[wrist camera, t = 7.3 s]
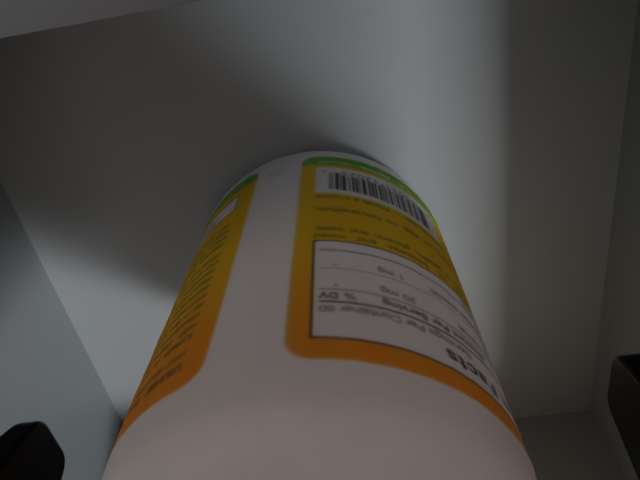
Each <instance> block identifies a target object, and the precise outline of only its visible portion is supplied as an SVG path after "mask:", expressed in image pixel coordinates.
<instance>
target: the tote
mask: <svg viewBox="0 0 640 480" xmlns="http://www.w3.org/2000/svg"><path fill="white" fill-rule="evenodd" d="M309 151H335V152H344V153H349V154H353V155H357V156H360V157H364V158H367V159H369V160H372V161H374V162H377V163H379V164H381V165H383V166H385V167H387V168H388V169H390V170H391V171H393V172H395V173H396V174H397V175H399V176H400V177H401V178H403V179H404V180H405V181H406V182H407V183H409V184H410V185H411V186H412V187H413V188H414V189H415V191H416V192H417V193H418V194H419V195H420V196H421V198H422V199H423V200H424V202H425V203H426V204H427V206H428V207H429V209H430V211H431V213H432V214H433V216H434V218H435V220H436V222H437V224H438V227H439V229H440V232H441V234H442V237H443V239H444V242H445V244H446V247H447V249H448V252H449V254H450V257H451V259H452V262H453V264H454V267H455V270H456V272H457V275H458V277H459V280H460V282H461V285H462V287H463V290H464V292H465V295H466V297H467V300H468V303H469V306H470V308H471V311H472V314H473V316H474V319H475V321H476V323H477V326H478V328H479V331H480V333H481V335H482V339H483V341H484V344H485V346H486V349H487V351H488V354H489V356H490V359H491V361H492V364H493V367H494V369H495V372H496V375H497V377H498V379H499V382H500V385H501V387H502V390H503V392H504V395H505V398H506V400H507V403H508V405H509V408H510V410H511V413H512V415H513V418H514V420H515V423H516V425H517V427H518V430H519V432H520V435H521V437H522V440H523V443H524V446H525V448H526V451H527V453H528V456H529V458H530V460H531V462H532V464H533V467H534V471H535V475H536V478H537V480H638V478H637V475H636V473H635V470H634V468H633V465H632V463H631V461H630V458H629V456H628V453H627V451H626V449H625V446H624V444H623V441H622V439H621V436H620V434H619V432H618V429H617V427H616V424H615V422H614V420H613V417H612V415H611V412H610V409H609V406H608V401H607V392H608V385H609V378H610V371H611V364H612V360H613V359H614V358H615V357H616V356H619V355H627V354H636V353H640V0H0V436H1V435H2V434H4V433H5V432H6V431H7V430H9V429H10V428H11V427H12V426H14V425H16V424H18V423H23V422H32V421H42V422H44V423H45V424H46V425H47V426H48V427H49V429H50V431H51V432H52V434H53V435H54V437H55V439H56V440H57V442H58V444H59V445H60V447H61V449H62V450H63V452H64V456H65V468H64V472H63V476H62V480H101V479H102V477H103V473H104V470H105V468H106V465H107V462H108V460H109V457H110V454H111V452H112V449H113V447H114V444H115V442H116V439H117V437H118V434H119V432H120V430H121V427H122V425H123V423H124V420H125V418H126V415H127V413H128V410H129V408H130V406H131V403H132V401H133V398H134V395H135V393H136V391H137V389H138V387H139V385H140V382H141V380H142V378H143V375H144V373H145V371H146V369H147V366H148V364H149V362H150V360H151V357H152V354H153V352H154V349H155V347H156V344H157V342H158V340H159V337H160V335H161V334H162V331H163V329H164V327H165V324H166V322H167V320H168V318H169V315H170V313H171V310H172V308H173V305H174V302H175V301H176V299H177V296H178V294H179V291H180V289H181V286H182V284H183V281H184V279H185V277H186V274H187V272H188V270H189V267H190V265H191V262H192V260H193V257H194V255H195V252H196V250H197V247H198V245H199V243H200V240H201V238H202V235H203V233H204V231H205V228H206V226H207V224H208V222H209V220H210V218H211V216H212V214H213V212H214V210H215V208H216V207H217V205H218V204H219V202H220V201H221V199H222V198H223V197H224V196H225V194H226V193H227V192H228V191H229V190H230V189H231V188H232V187H233V186H234V185H235V184H236V183H237V182H238V181H239V180H241V179H242V178H243V177H244V176H246V175H247V174H248V173H250V172H251V171H253V170H255V169H256V168H258V167H260V166H261V165H264V164H266V163H268V162H270V161H272V160H275V159H277V158H280V157H284V156H287V155H291V154H296V153H301V152H309Z"/></svg>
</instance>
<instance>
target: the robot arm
mask: <svg viewBox="0 0 640 480" xmlns="http://www.w3.org/2000/svg"><path fill="white" fill-rule="evenodd" d="M607 401H608V406H609V409H610V412H611V415H612V417H613V420H614V422H615V424H616V427H617V429H618V432H619V434H620V436H621V439H622V441H623V444H624V446H625V449H626V451H627V453H628V456H629V458H630V461H631V463H632V465H633V468H634V470H635V473H636V475H637V478H638V480H640V353H636V354H627V355H619V356H616V357H615V358H614V359H613V360H612V364H611V371H610V378H609V385H608V392H607ZM64 468H65V456H64V452H63V450H62V449H61V447H60V445H59V444H58V442H57V440H56V439H55V437H54V435H53V434H52V432H51V431H50V429H49V427H48V426H47V425H46V424H45V423H44V422H42V421H32V422H23V423H18V424H16V425H14V426H12V427H11V428H10V429H9V430H7V431H6V432H5V433H4V434H2V435H1V436H0V480H62V476H63V472H64Z"/></svg>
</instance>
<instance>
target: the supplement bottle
mask: <svg viewBox="0 0 640 480" xmlns="http://www.w3.org/2000/svg"><path fill="white" fill-rule="evenodd" d="M101 480H537V478H536V475H535V471H534V467H533V464H532V462H531V460H530V458H529V456H528V453H527V451H526V448H525V446H524V443H523V440H522V437H521V435H520V432H519V430H518V427H517V425H516V423H515V420H514V418H513V415H512V413H511V410H510V408H509V405H508V403H507V400H506V398H505V395H504V392H503V390H502V387H501V385H500V382H499V379H498V377H497V375H496V372H495V369H494V367H493V364H492V361H491V359H490V356H489V354H488V351H487V349H486V346H485V344H484V341H483V339H482V335H481V333H480V331H479V328H478V326H477V323H476V321H475V319H474V316H473V314H472V311H471V308H470V306H469V303H468V300H467V297H466V295H465V292H464V290H463V287H462V285H461V282H460V280H459V277H458V275H457V272H456V270H455V267H454V264H453V262H452V259H451V257H450V254H449V252H448V249H447V247H446V244H445V242H444V239H443V237H442V234H441V232H440V229H439V227H438V224H437V222H436V220H435V218H434V216H433V214H432V213H431V211H430V209H429V207H428V206H427V204H426V203H425V202H424V200H423V199H422V198H421V196H420V195H419V194H418V193H417V192H416V191H415V189H414V188H413V187H412V186H411V185H410V184H409V183H407V182H406V181H405V180H404V179H403V178H401V177H400V176H399V175H397V174H396V173H395V172H393V171H391V170H390V169H388V168H387V167H385V166H383V165H381V164H379V163H377V162H374V161H372V160H369V159H367V158H364V157H360V156H357V155H353V154H349V153H344V152H335V151H309V152H301V153H296V154H291V155H287V156H284V157H280V158H277V159H275V160H272V161H270V162H268V163H266V164H264V165H261V166H260V167H258V168H256V169H255V170H253V171H251V172H250V173H248V174H247V175H246V176H244V177H243V178H242V179H241V180H239V181H238V182H237V183H236V184H235V185H234V186H233V187H232V188H231V189H230V190H229V191H228V192H227V193H226V194H225V196H224V197H223V198H222V199H221V201H220V202H219V204H218V205H217V207H216V208H215V210H214V212H213V214H212V216H211V218H210V220H209V222H208V224H207V226H206V228H205V231H204V233H203V235H202V238H201V240H200V243H199V245H198V247H197V250H196V252H195V255H194V257H193V260H192V262H191V265H190V267H189V270H188V272H187V274H186V277H185V279H184V281H183V284H182V286H181V289H180V291H179V294H178V296H177V299H176V301H175V302H174V305H173V308H172V310H171V313H170V315H169V318H168V320H167V322H166V324H165V327H164V329H163V331H162V334H161V335H160V337H159V340H158V342H157V344H156V347H155V349H154V352H153V354H152V357H151V360H150V362H149V364H148V366H147V369H146V371H145V373H144V375H143V378H142V380H141V382H140V385H139V387H138V389H137V391H136V393H135V395H134V398H133V401H132V403H131V406H130V408H129V410H128V413H127V415H126V418H125V420H124V423H123V425H122V427H121V430H120V432H119V434H118V437H117V439H116V442H115V444H114V447H113V449H112V452H111V454H110V457H109V460H108V462H107V465H106V468H105V470H104V473H103V477H102V479H101Z"/></svg>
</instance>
